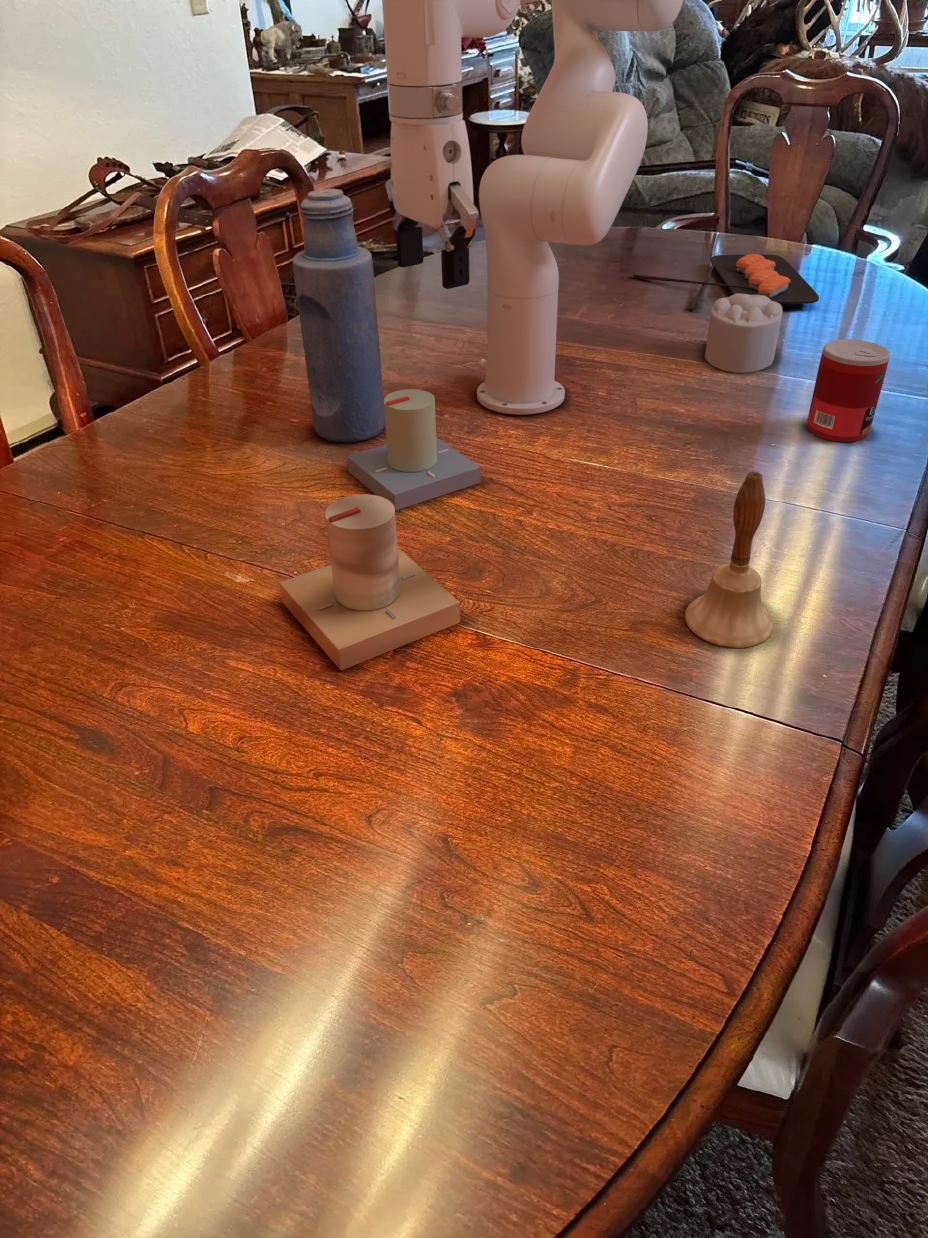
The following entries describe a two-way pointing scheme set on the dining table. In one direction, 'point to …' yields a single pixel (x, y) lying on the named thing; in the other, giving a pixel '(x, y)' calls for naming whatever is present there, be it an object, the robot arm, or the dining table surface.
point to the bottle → (338, 322)
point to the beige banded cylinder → (363, 551)
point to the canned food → (847, 389)
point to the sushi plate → (756, 279)
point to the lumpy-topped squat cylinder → (743, 333)
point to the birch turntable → (369, 614)
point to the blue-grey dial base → (413, 475)
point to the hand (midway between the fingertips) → (432, 275)
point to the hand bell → (735, 582)
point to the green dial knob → (410, 430)
